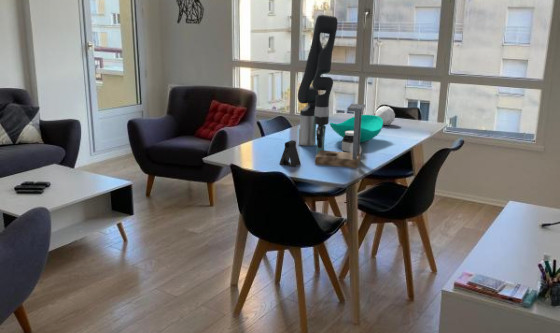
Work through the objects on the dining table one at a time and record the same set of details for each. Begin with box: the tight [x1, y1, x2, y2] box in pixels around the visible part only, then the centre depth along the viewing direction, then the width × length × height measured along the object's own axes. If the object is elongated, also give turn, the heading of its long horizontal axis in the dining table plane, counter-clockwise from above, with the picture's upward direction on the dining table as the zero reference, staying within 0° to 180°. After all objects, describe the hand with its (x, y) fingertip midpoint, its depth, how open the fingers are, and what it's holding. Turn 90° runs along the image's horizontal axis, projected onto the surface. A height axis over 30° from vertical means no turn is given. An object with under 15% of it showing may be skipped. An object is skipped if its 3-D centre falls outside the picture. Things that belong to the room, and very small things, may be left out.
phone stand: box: [279, 139, 302, 168], centre depth 278 cm, size 9×6×12 cm, turn 57°
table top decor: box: [329, 114, 384, 143], centre depth 329 cm, size 40×28×13 cm
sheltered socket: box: [314, 103, 366, 169], centre depth 280 cm, size 22×14×30 cm, turn 75°
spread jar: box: [341, 131, 362, 153], centre depth 301 cm, size 12×11×12 cm
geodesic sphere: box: [374, 105, 396, 126], centre depth 380 cm, size 14×14×14 cm
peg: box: [315, 131, 326, 155], centre depth 297 cm, size 4×4×12 cm
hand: (320, 146), depth 298 cm, fingers closed on peg, 4 cm apart
